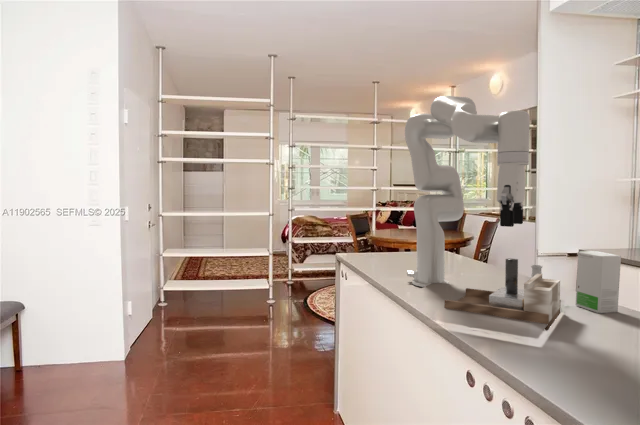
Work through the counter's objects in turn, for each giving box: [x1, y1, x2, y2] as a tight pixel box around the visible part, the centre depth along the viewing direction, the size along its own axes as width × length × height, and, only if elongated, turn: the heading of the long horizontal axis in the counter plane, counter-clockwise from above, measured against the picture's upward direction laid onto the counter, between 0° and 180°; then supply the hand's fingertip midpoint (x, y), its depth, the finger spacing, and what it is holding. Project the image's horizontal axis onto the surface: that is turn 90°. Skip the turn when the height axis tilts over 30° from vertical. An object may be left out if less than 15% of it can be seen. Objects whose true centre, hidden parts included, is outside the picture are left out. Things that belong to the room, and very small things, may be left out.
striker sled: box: [489, 257, 524, 311], centre depth 115 cm, size 8×12×13 cm, turn 143°
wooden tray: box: [444, 273, 562, 331], centre depth 116 cm, size 25×18×10 cm
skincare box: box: [575, 250, 622, 314], centre depth 119 cm, size 8×7×16 cm
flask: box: [530, 264, 543, 279], centre depth 132 cm, size 7×7×10 cm
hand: (511, 224), depth 114 cm, fingers open, 9 cm apart
